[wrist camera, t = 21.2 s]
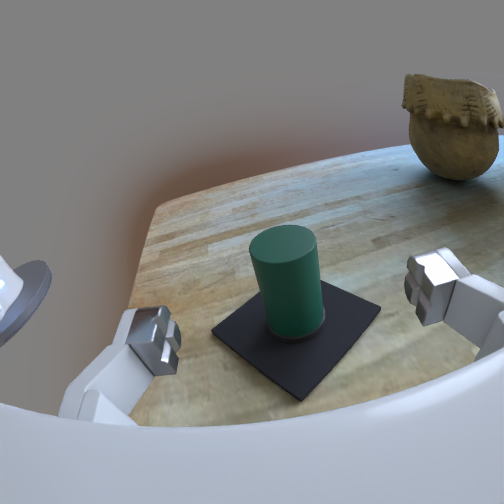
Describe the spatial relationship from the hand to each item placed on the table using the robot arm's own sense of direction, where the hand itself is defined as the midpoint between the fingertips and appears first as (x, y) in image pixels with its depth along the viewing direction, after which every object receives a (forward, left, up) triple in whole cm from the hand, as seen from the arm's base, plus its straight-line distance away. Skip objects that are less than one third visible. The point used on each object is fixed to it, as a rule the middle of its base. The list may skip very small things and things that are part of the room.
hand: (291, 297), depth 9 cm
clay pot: (+53, +5, -15) cm, 55 cm away
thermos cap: (+8, +9, -15) cm, 19 cm away
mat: (+8, +9, -15) cm, 20 cm away
